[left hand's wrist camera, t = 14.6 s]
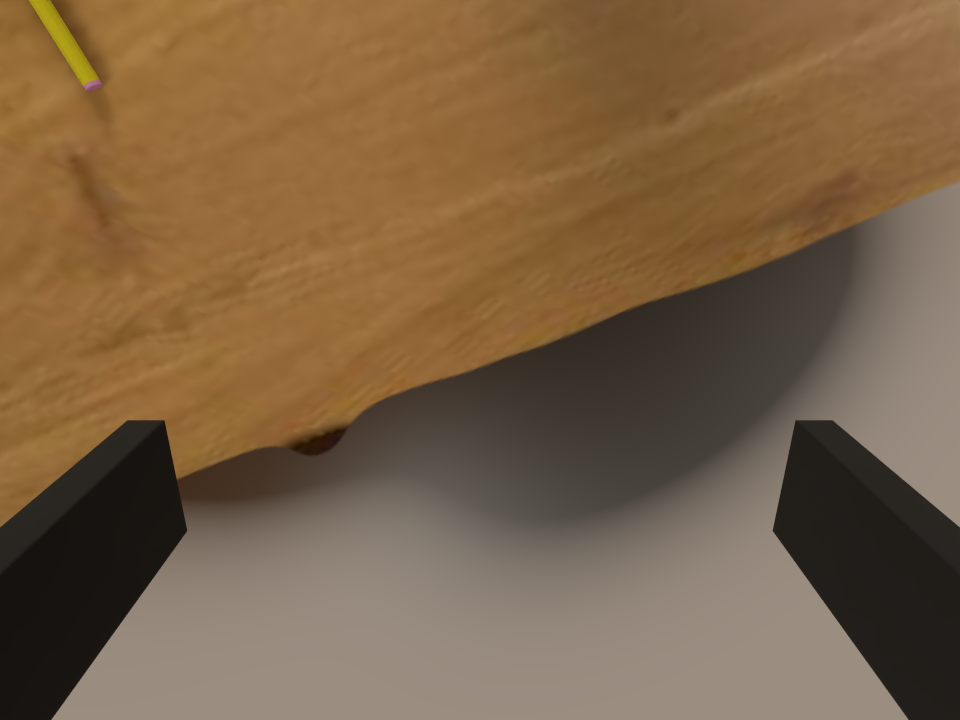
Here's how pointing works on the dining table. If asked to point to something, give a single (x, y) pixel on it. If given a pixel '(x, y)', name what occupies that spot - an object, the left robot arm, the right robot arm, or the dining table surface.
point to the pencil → (67, 44)
